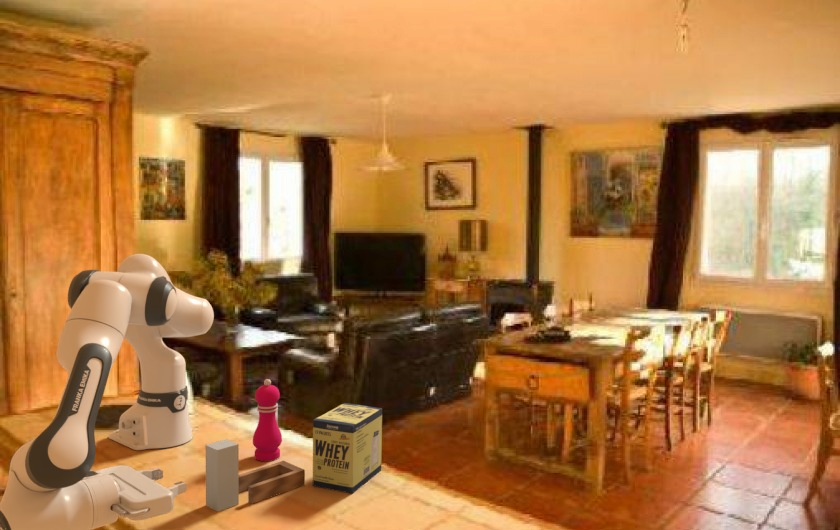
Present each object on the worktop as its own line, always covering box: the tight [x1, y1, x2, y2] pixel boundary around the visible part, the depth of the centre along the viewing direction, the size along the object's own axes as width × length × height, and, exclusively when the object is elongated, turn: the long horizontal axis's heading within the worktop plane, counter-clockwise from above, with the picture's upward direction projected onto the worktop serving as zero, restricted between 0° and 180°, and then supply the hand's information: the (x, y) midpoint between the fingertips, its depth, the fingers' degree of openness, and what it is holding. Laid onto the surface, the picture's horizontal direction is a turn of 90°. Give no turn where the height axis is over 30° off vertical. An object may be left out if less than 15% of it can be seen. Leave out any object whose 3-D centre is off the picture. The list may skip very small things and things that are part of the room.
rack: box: [239, 460, 306, 505], centre depth 147 cm, size 14×8×4 cm, turn 138°
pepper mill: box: [252, 378, 283, 462], centre depth 166 cm, size 7×7×20 cm
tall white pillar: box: [205, 438, 240, 512], centre depth 139 cm, size 5×4×13 cm
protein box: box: [312, 402, 383, 494], centre depth 154 cm, size 10×16×16 cm
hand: (172, 479), depth 130 cm, fingers open, 8 cm apart
